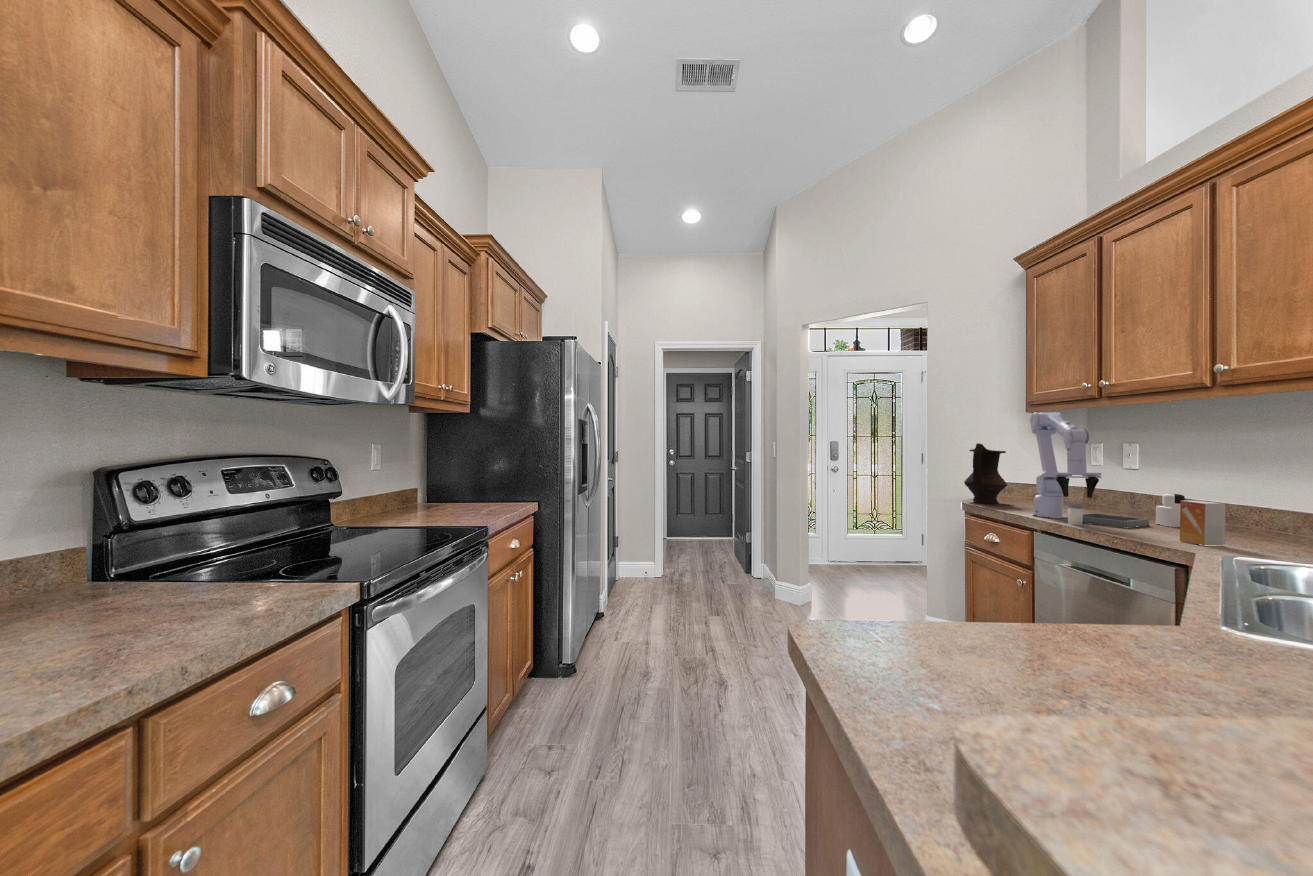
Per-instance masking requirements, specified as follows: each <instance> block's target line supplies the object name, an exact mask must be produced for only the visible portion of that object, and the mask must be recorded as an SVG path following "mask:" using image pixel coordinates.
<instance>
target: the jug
mask: <svg viewBox="0 0 1313 876" xmlns="http://www.w3.org/2000/svg"><path fill="white" fill-rule="evenodd" d="M969 452H973V455H972V472H971V473H970V475H969V476H968V477H967V478H966V479H965V480H964V482H963V483H964V485H965V486H966V487H967V488H968V490H969V491H970V492H971V494H972V495H973V499H972V502H974V503H979V504H989V505H997V504H999V502H1000V501H998V499H997V498H998V496H999V494H1000V493H1001V492H1002V491H1003V490H1004V489H1006V487H1007V486H1008V484H1007V482H1006V481H1005V479H1004V478H1003V477H1002V476H1001V474H1000V473H999V469H998V468H999V462H1000V457H1001V454H1006V453H1007V451H1006V450H995V449H994V450H993V449H987V448H986V447H985V446H984V445H983V443H980V442H978V443H976V444H975V447H974V448H972V449H969Z"/></svg>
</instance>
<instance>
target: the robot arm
mask: <svg viewBox="0 0 1313 876" xmlns="http://www.w3.org/2000/svg"><path fill="white" fill-rule="evenodd" d="M1029 421H1030V428H1031V432H1032V434H1034V435H1035V436H1036V442H1037V447H1038V453H1039V459H1040V463H1041V470H1042V473H1040V474H1039V475H1037V477H1036V478H1035V479H1036V480H1035V481H1036V482H1035V483H1036V484H1035V488H1036V489H1035V490H1036V492H1037V493H1038V494H1036V495H1035V496H1034V497H1033V514H1032V516H1033V515H1037V516H1036V517H1039V518H1040V517H1041V518H1048V517H1049V519H1068V518H1067V517H1068V515H1067V516H1065V515H1064V514H1063V513H1064V512H1063V510H1064V498H1065V497H1069V489H1070V485H1069V484H1070V479H1071V478H1073V479H1075V478H1076V479H1081V478H1082V479H1084V480H1085V485H1086V498H1088V499H1090V498H1091V499H1092V498H1093V495H1094V491H1095V489H1096V487H1097V485H1098V483H1099V481H1100V479H1102V472H1087V444H1088V443H1089V441H1090V433H1089V431H1088V430H1087V429H1086V428H1083V429H1081V428H1079V427H1077V425H1074V424H1073V423H1072V421H1070V420H1063V415H1062V413H1061V412H1059V411H1053V412H1048V411H1047V412H1046V411H1045V412H1044V411H1043V412H1040V411H1033V413H1032V414H1031V416H1030V420H1029ZM1055 434H1058V435H1060V436H1061V437H1062V440H1063V443H1064V448H1065V449H1066V462H1067V463H1066V464H1067V465H1066V466H1067V472H1059V471H1058V467H1057V461H1056V457H1055V453H1054V452H1055V451H1054V446H1053V441H1052V436H1053V435H1055Z"/></svg>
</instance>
